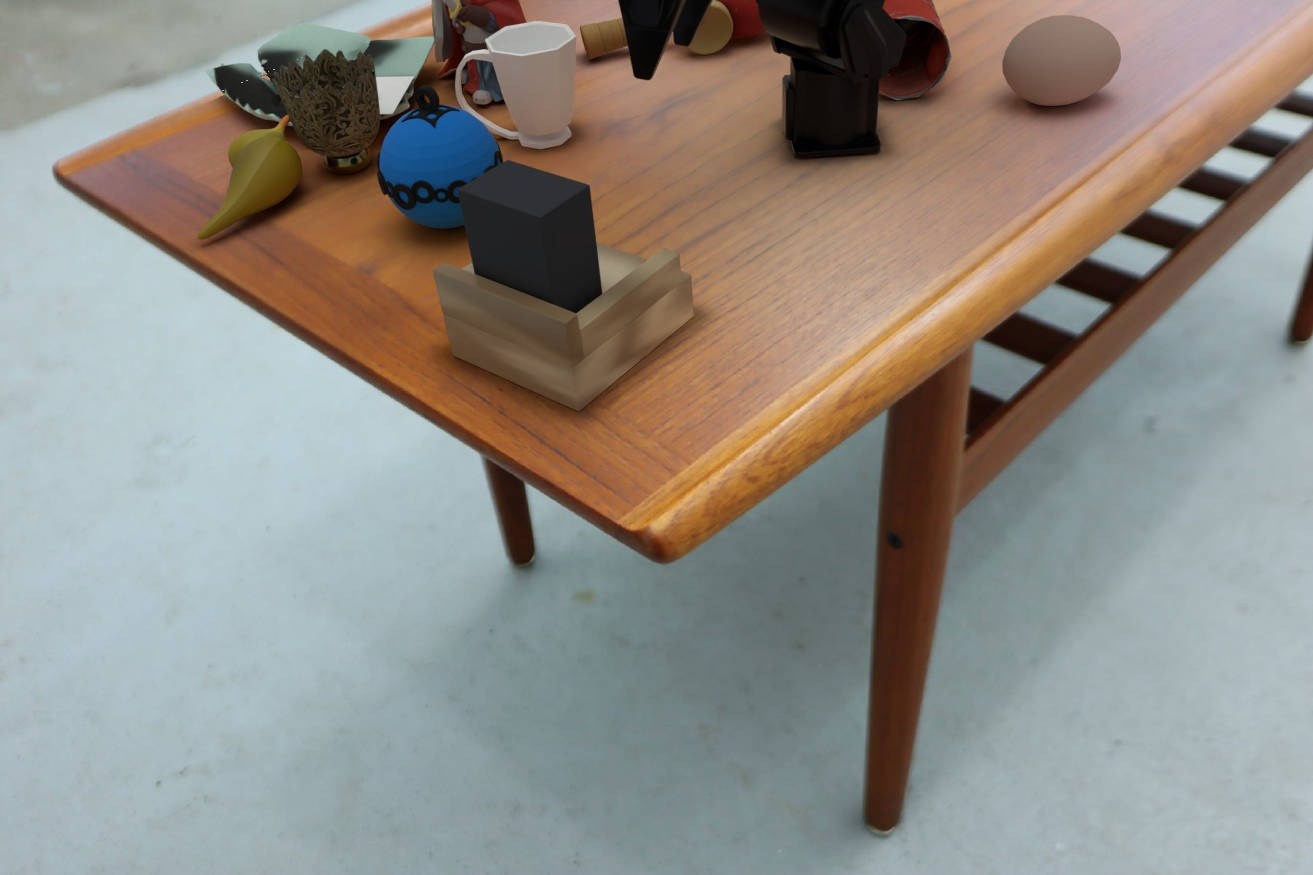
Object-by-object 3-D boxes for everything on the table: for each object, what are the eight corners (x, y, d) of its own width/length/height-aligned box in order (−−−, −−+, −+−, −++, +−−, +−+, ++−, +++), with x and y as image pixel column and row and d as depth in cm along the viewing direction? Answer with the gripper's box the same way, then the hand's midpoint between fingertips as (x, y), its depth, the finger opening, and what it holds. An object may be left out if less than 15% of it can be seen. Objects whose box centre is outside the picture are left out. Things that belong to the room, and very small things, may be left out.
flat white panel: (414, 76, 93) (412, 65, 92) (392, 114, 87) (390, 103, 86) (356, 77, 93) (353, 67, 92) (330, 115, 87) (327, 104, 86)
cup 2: (581, 156, 85) (569, 53, 79) (456, 159, 86) (435, 58, 81) (593, 116, 90) (582, 18, 85) (475, 120, 91) (456, 23, 86)
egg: (1019, 116, 82) (1132, 109, 83) (1030, 22, 79) (1148, 16, 80) (982, 101, 88) (1089, 95, 89) (992, 13, 85) (1102, 8, 86)
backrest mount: (570, 271, 72) (559, 188, 68) (694, 316, 67) (689, 230, 63) (452, 355, 66) (432, 270, 62) (578, 412, 61) (565, 322, 57)
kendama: (598, 91, 97) (792, 35, 97) (579, 18, 94) (780, -40, 94) (589, 74, 104) (771, 21, 104) (571, 5, 100) (758, -49, 101)
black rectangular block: (528, 281, 66) (507, 158, 60) (605, 311, 63) (590, 184, 58) (482, 313, 63) (456, 189, 58) (559, 345, 60) (539, 217, 55)
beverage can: (928, 43, 97) (936, -35, 93) (947, 99, 88) (956, 16, 84) (847, 46, 98) (850, -31, 93) (856, 103, 89) (861, 20, 84)
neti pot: (319, 81, 83) (257, 96, 86) (219, 208, 74) (154, 219, 77) (351, 129, 86) (290, 141, 89) (258, 256, 77) (194, 265, 80)
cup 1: (415, 152, 87) (393, 53, 82) (360, 195, 82) (332, 92, 77) (340, 140, 90) (314, 44, 85) (282, 180, 85) (250, 81, 80)
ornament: (535, 204, 79) (513, 69, 73) (467, 262, 74) (437, 122, 67) (439, 185, 83) (410, 54, 76) (367, 239, 77) (330, 104, 70)
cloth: (422, 114, 88) (428, 141, 89) (440, 9, 104) (445, 34, 106) (168, 138, 88) (179, 165, 89) (226, 29, 104) (234, 53, 105)
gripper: (605, -237, 71) (592, 13, 80) (489, -231, 56) (489, 77, 65) (772, -218, 69) (740, 37, 78) (699, -207, 54) (670, 108, 62)
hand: (663, 61), depth 71 cm, fingers open, 9 cm apart
